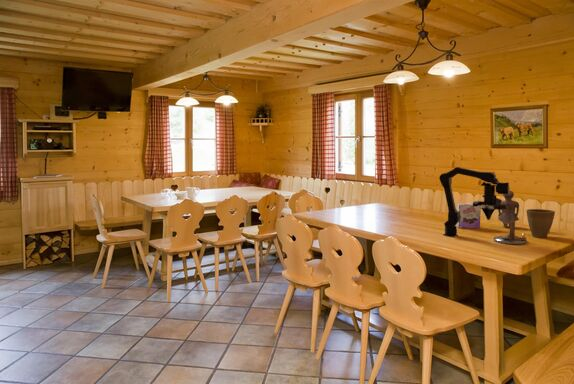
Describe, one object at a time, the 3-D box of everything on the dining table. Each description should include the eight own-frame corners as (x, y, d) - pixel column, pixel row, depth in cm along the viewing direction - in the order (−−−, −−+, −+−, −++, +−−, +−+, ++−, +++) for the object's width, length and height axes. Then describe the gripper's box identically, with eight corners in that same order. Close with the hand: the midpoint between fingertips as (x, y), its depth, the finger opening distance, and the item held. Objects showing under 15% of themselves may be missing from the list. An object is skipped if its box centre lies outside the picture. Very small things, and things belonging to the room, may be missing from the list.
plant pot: (559, 238, 251) (561, 211, 249) (537, 239, 249) (538, 213, 247) (541, 233, 266) (542, 208, 264) (519, 234, 263) (520, 209, 261)
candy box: (458, 228, 286) (459, 204, 284) (456, 226, 292) (457, 203, 290) (480, 228, 284) (480, 204, 282) (477, 227, 289) (478, 203, 287)
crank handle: (505, 241, 239) (506, 221, 238) (499, 236, 251) (500, 217, 250) (529, 241, 236) (530, 222, 235) (522, 236, 249) (523, 218, 247)
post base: (487, 240, 250) (487, 232, 249) (506, 237, 258) (506, 229, 257) (513, 246, 235) (514, 237, 234) (533, 242, 243) (533, 234, 242)
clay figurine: (519, 226, 287) (520, 190, 284) (518, 229, 279) (520, 191, 276) (497, 225, 294) (499, 189, 291) (496, 227, 285) (497, 190, 283)
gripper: (512, 194, 245) (511, 220, 246) (484, 191, 261) (484, 216, 263) (500, 195, 240) (499, 222, 241) (472, 192, 256) (471, 217, 258)
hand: (488, 219), depth 251 cm, fingers closed
